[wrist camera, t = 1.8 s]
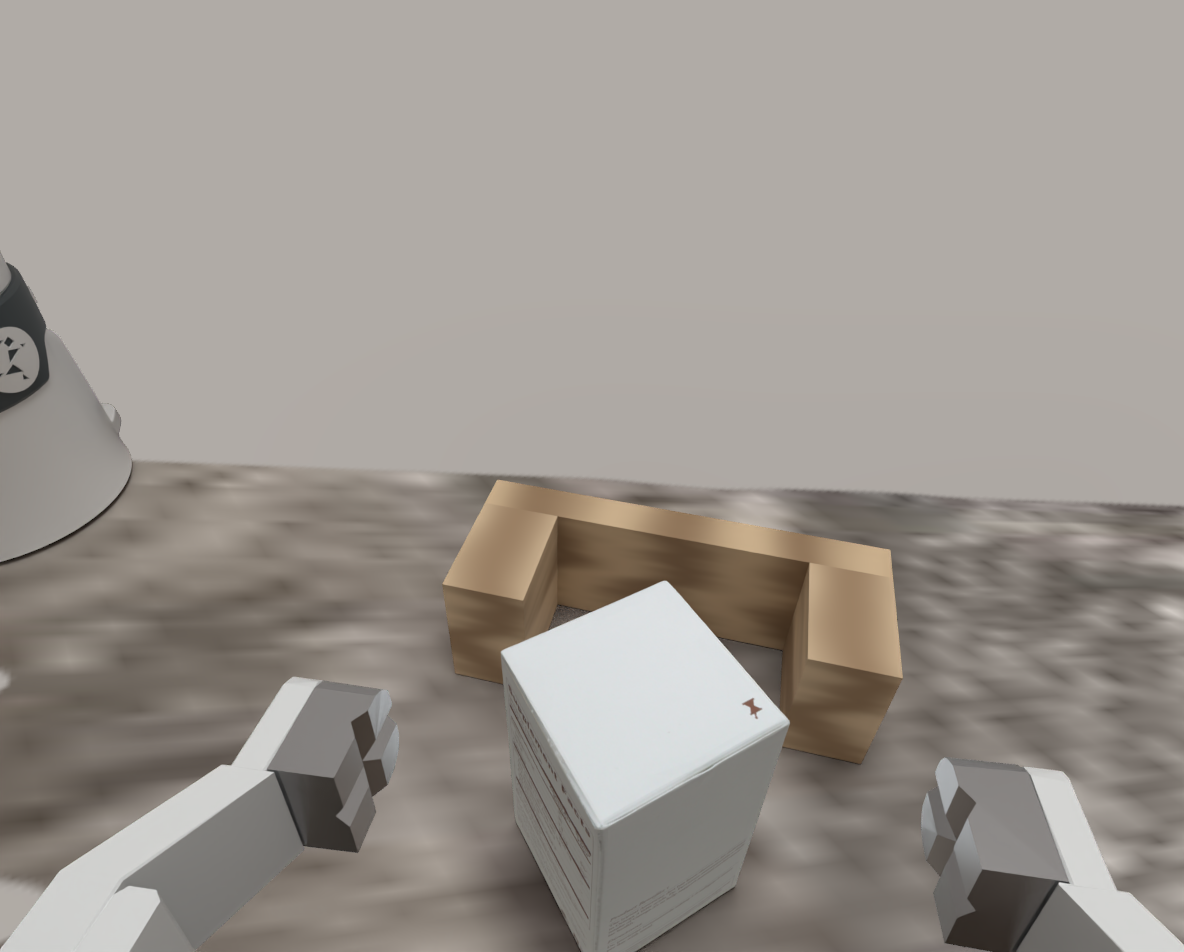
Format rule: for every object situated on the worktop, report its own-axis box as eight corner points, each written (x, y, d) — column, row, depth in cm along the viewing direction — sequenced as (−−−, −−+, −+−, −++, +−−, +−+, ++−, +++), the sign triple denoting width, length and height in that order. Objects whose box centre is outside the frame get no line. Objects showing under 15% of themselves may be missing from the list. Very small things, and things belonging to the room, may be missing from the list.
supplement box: (646, 749, 37) (671, 572, 29) (739, 889, 32) (800, 723, 24) (509, 819, 34) (494, 644, 26) (588, 985, 29) (600, 833, 21)
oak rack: (455, 673, 40) (442, 584, 36) (503, 567, 46) (497, 479, 42) (860, 764, 37) (902, 678, 32) (855, 636, 43) (890, 549, 38)
